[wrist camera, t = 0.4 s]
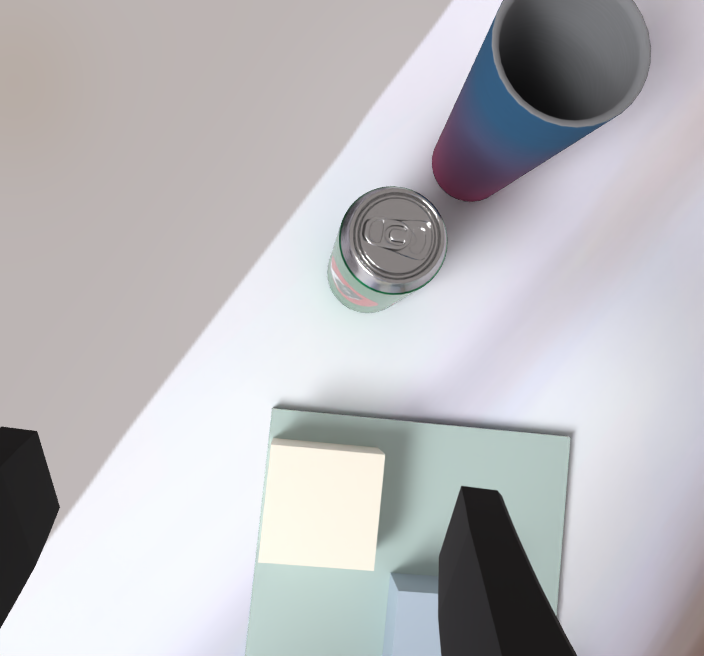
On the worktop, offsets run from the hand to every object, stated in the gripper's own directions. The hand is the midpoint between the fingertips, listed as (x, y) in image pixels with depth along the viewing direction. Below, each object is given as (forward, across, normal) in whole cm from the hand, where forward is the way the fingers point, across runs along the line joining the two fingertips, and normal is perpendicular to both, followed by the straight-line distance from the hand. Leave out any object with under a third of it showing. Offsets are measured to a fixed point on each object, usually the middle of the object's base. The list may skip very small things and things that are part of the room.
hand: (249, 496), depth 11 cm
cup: (+32, -8, +6) cm, 34 cm away
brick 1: (+17, -1, +22) cm, 28 cm away
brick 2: (+13, -8, +27) cm, 32 cm away
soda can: (+27, -2, +12) cm, 29 cm away
